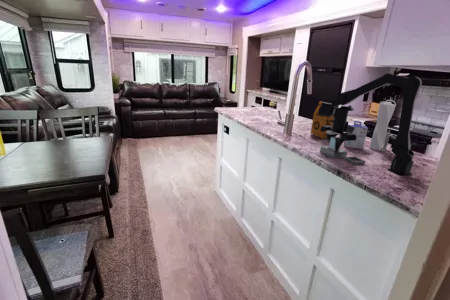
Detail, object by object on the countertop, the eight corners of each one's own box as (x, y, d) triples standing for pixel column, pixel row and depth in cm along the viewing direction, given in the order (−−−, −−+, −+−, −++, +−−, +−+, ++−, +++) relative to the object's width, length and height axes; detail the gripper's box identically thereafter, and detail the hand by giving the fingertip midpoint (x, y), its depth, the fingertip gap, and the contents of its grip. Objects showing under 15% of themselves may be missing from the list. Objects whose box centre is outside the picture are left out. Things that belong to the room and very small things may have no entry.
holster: (364, 163, 110) (365, 161, 109) (354, 165, 108) (355, 162, 107) (354, 159, 115) (354, 156, 115) (344, 160, 113) (344, 157, 113)
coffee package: (319, 139, 146) (326, 103, 139) (308, 134, 157) (313, 100, 150) (333, 138, 149) (340, 104, 142) (320, 133, 160) (326, 101, 153)
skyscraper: (382, 152, 127) (397, 100, 118) (366, 148, 133) (379, 98, 123) (386, 149, 133) (400, 99, 124) (370, 146, 138) (383, 98, 129)
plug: (338, 153, 119) (341, 138, 116) (332, 154, 118) (335, 139, 115) (333, 151, 122) (336, 136, 119) (327, 152, 121) (330, 137, 118)
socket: (346, 157, 117) (347, 151, 116) (333, 158, 115) (334, 152, 114) (332, 150, 126) (333, 144, 125) (319, 151, 124) (321, 145, 123)
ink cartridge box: (361, 146, 136) (367, 121, 131) (363, 149, 131) (369, 123, 126) (342, 144, 139) (348, 120, 134) (344, 146, 134) (349, 121, 129)
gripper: (369, 122, 108) (361, 154, 113) (339, 114, 125) (333, 142, 130) (350, 123, 105) (342, 155, 110) (322, 115, 122) (317, 143, 127)
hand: (333, 148), depth 119 cm, fingers closed on plug, 3 cm apart
